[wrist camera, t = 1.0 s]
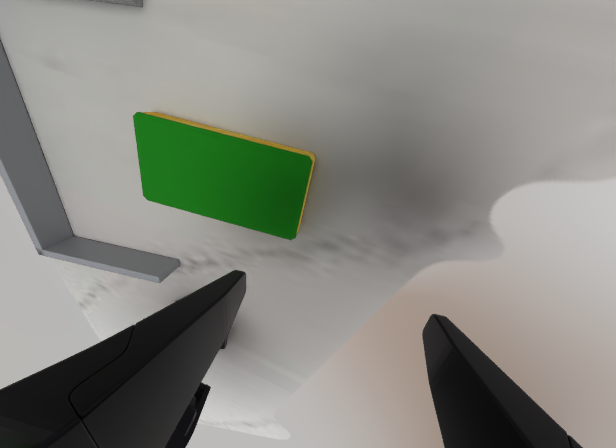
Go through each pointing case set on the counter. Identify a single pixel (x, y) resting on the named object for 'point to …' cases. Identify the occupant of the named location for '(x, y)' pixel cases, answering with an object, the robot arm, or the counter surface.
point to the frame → (56, 194)
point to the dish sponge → (223, 174)
